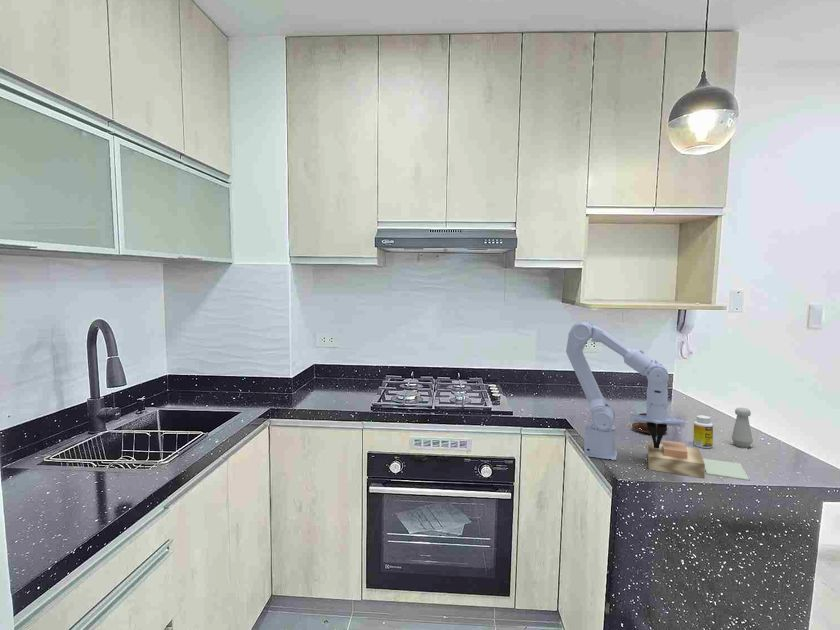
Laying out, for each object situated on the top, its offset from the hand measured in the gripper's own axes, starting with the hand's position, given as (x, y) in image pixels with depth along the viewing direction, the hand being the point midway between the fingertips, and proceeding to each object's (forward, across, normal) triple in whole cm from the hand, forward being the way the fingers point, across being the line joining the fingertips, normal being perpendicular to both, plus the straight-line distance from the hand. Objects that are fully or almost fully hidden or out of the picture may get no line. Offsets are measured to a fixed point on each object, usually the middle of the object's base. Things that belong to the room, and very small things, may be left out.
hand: (656, 447), depth 135 cm
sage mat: (+5, +18, +3) cm, 19 cm away
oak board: (+5, +5, 0) cm, 7 cm away
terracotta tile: (+1, +5, 0) cm, 5 cm away
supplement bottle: (+5, +15, +24) cm, 29 cm away
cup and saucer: (+5, -1, +35) cm, 35 cm away
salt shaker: (+5, +27, +30) cm, 41 cm away
